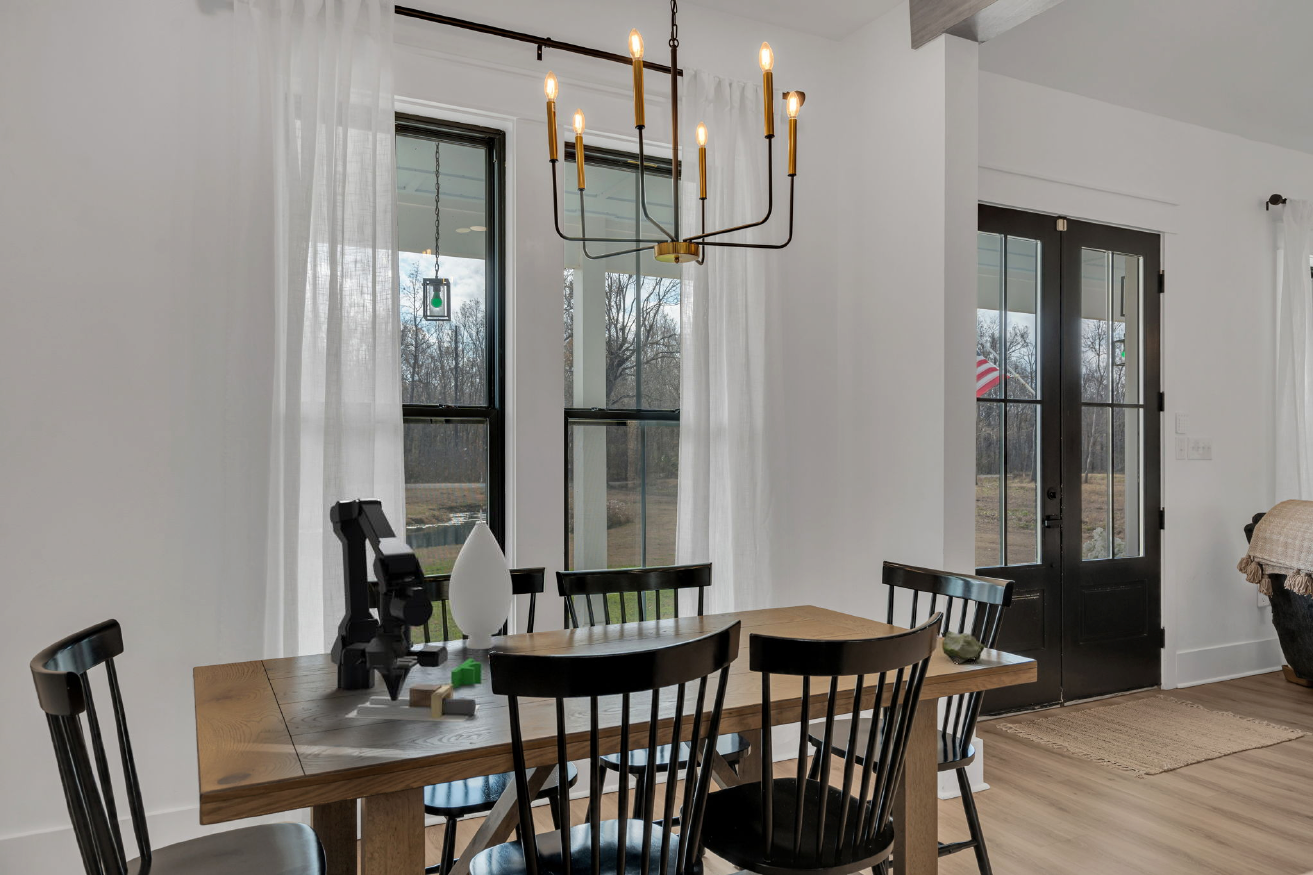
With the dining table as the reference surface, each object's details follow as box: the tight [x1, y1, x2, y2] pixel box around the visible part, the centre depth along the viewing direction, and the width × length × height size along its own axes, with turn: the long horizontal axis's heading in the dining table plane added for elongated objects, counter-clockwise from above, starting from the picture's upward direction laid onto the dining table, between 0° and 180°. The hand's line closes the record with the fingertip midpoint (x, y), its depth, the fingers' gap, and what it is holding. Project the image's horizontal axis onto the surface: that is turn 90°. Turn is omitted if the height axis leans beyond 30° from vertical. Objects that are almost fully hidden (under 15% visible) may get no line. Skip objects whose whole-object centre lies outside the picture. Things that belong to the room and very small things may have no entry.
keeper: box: [408, 683, 443, 707], centre depth 162 cm, size 5×3×4 cm
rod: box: [442, 698, 477, 716], centre depth 161 cm, size 7×3×3 cm
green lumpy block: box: [940, 630, 986, 664], centre depth 209 cm, size 9×9×8 cm
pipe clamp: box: [450, 658, 482, 689], centre depth 184 cm, size 11×4×5 cm, turn 173°
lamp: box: [448, 509, 513, 650], centre depth 221 cm, size 16×16×35 cm
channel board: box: [344, 683, 481, 723], centre depth 163 cm, size 22×10×5 cm, turn 84°
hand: (394, 700), depth 163 cm, fingers closed
